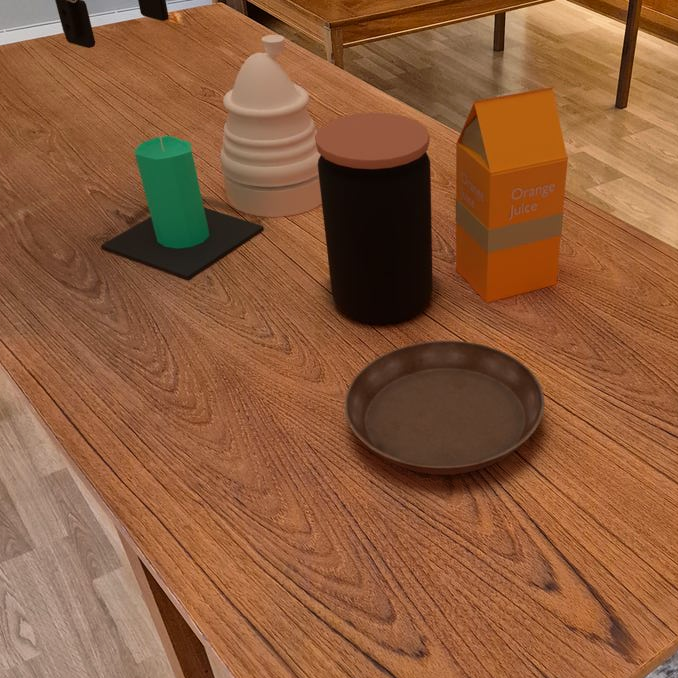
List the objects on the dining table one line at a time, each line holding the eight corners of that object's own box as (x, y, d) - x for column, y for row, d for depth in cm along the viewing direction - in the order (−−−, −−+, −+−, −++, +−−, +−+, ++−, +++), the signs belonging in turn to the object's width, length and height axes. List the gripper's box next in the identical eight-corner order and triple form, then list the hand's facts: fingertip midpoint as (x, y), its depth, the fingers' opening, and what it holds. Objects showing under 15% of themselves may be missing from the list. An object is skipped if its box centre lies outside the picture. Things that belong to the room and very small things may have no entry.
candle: (184, 253, 100) (160, 149, 92) (145, 239, 102) (117, 137, 94) (220, 231, 104) (200, 129, 96) (181, 218, 106) (158, 117, 98)
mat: (101, 249, 102) (100, 245, 101) (181, 203, 110) (180, 199, 109) (188, 280, 97) (187, 276, 97) (264, 230, 105) (263, 226, 105)
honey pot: (304, 161, 119) (286, 16, 106) (347, 201, 111) (333, 49, 99) (212, 183, 114) (181, 33, 101) (250, 226, 106) (222, 69, 93)
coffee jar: (413, 266, 100) (407, 105, 88) (447, 317, 93) (446, 149, 81) (321, 285, 97) (301, 120, 84) (349, 338, 90) (332, 167, 77)
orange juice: (557, 284, 98) (574, 101, 84) (486, 303, 95) (492, 116, 81) (522, 252, 103) (533, 73, 89) (454, 269, 100) (454, 86, 86)
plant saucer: (343, 495, 74) (339, 468, 72) (350, 367, 87) (347, 341, 84) (553, 488, 75) (556, 461, 73) (530, 362, 88) (532, 336, 86)
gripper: (114, -201, 82) (154, 2, 94) (-48, -180, 71) (20, 47, 82) (177, -192, 79) (209, 15, 91) (19, -169, 68) (79, 64, 80)
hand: (119, 30), depth 87 cm, fingers open, 9 cm apart
